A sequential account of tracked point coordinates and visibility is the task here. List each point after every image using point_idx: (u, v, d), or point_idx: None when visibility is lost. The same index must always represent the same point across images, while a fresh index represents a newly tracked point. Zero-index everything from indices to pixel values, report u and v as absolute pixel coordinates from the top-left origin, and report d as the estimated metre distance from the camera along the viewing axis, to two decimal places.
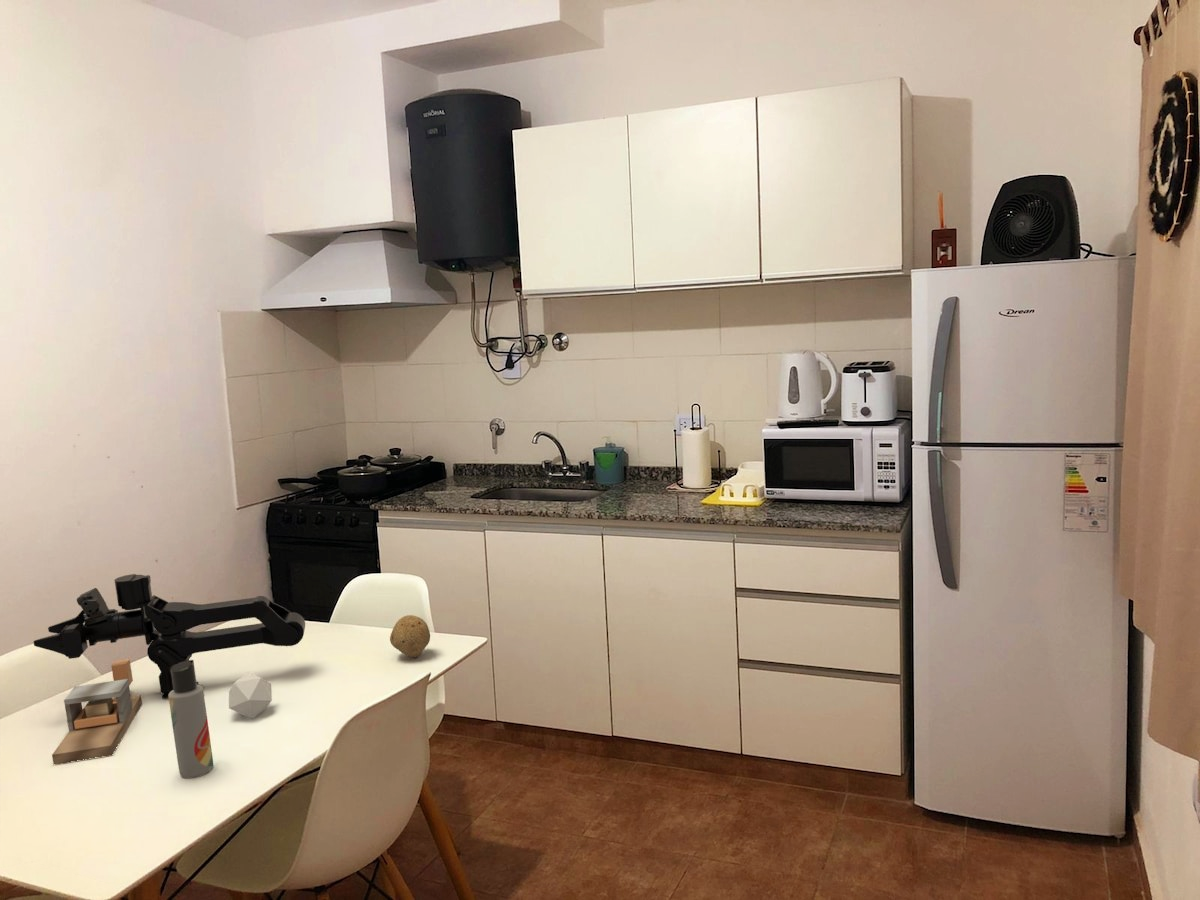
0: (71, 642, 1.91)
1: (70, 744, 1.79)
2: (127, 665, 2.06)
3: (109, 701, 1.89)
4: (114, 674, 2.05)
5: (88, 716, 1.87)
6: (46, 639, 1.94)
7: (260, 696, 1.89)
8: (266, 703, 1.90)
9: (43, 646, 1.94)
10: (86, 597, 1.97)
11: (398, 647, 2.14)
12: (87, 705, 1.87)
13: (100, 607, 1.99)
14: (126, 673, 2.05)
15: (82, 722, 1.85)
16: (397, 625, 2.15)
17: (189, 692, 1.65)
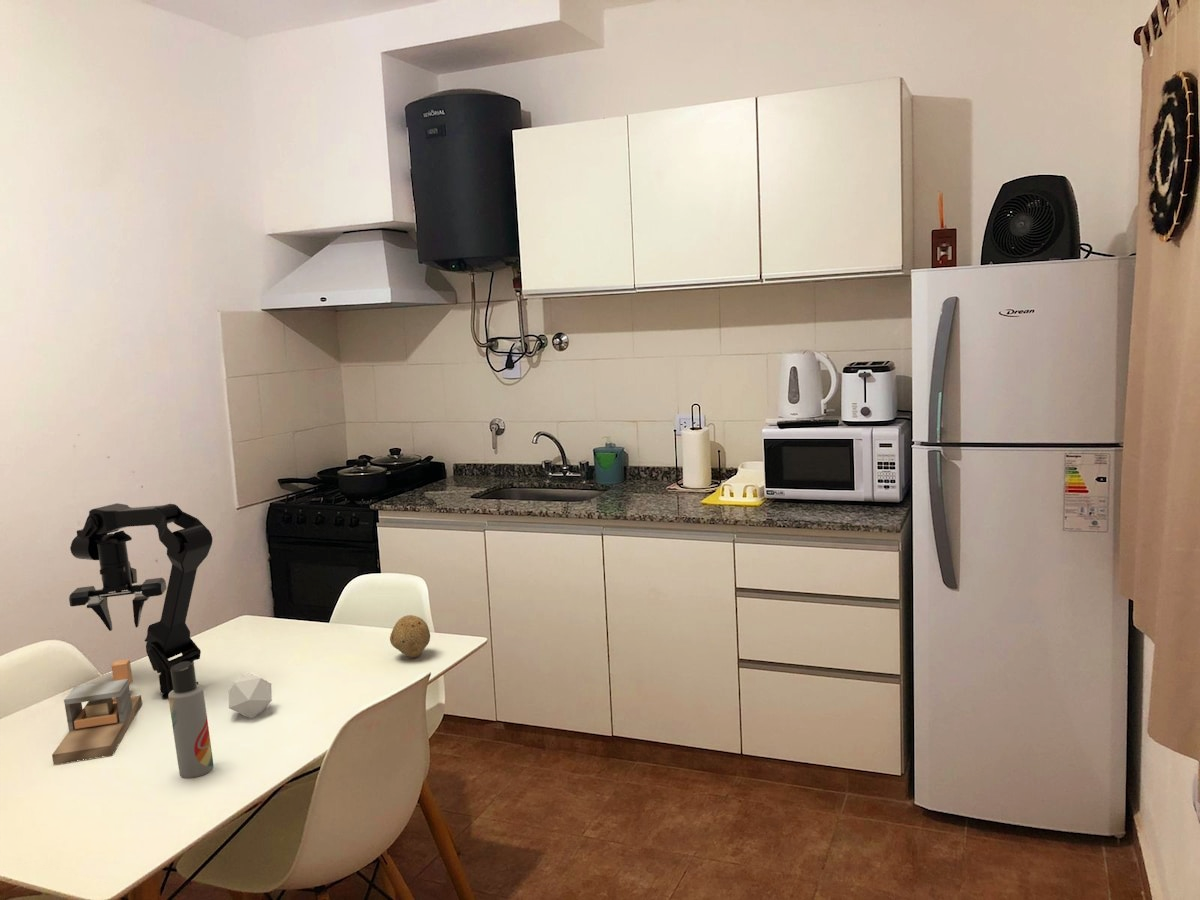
0: None
1: (70, 744, 1.79)
2: (127, 665, 2.06)
3: (109, 701, 1.89)
4: (114, 674, 2.05)
5: (88, 716, 1.87)
6: None
7: (260, 696, 1.89)
8: (266, 703, 1.90)
9: None
10: None
11: (398, 647, 2.14)
12: (87, 705, 1.87)
13: None
14: (126, 673, 2.05)
15: (82, 722, 1.85)
16: (397, 625, 2.15)
17: (189, 692, 1.65)
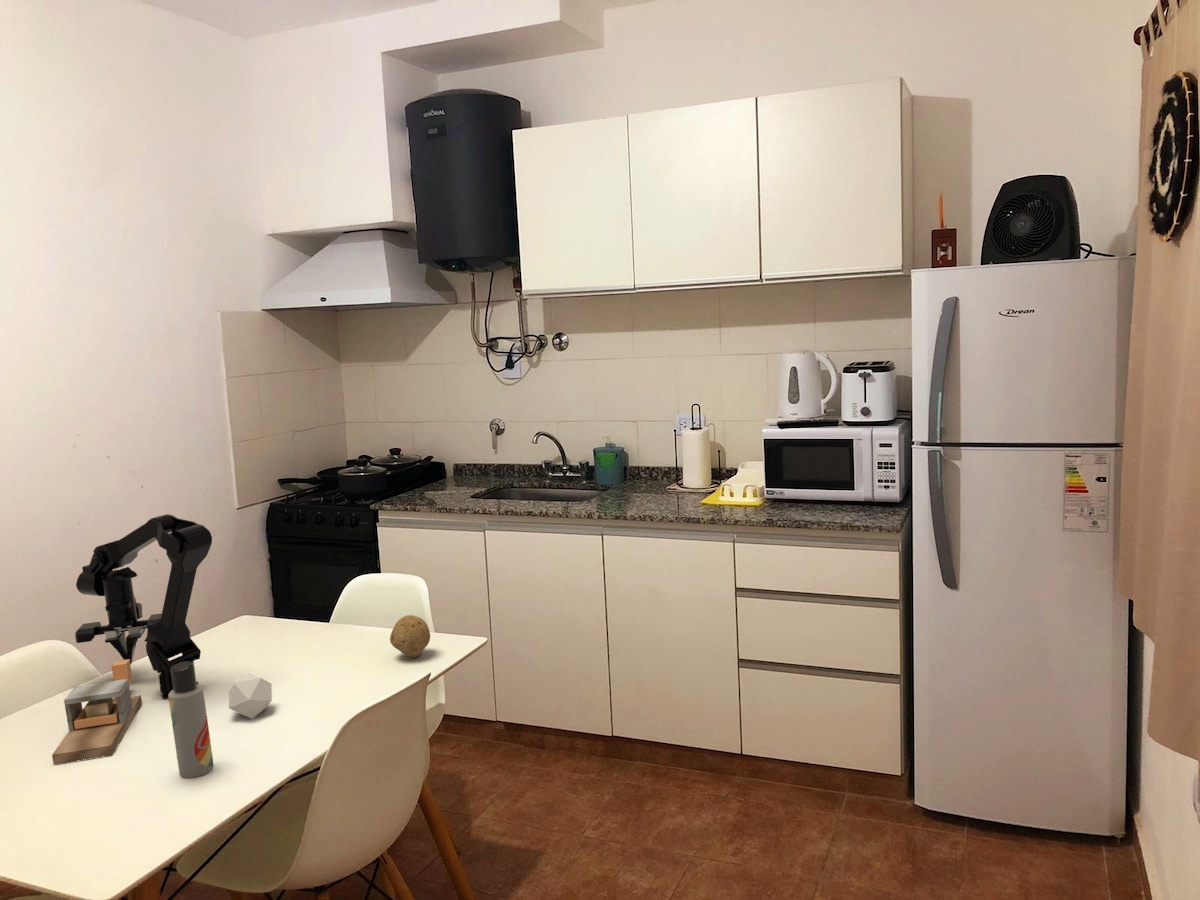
0: None
1: (70, 744, 1.79)
2: (127, 665, 2.06)
3: (109, 701, 1.89)
4: (114, 674, 2.05)
5: (88, 716, 1.87)
6: None
7: (260, 696, 1.89)
8: (266, 703, 1.90)
9: None
10: None
11: (398, 647, 2.14)
12: (87, 705, 1.87)
13: None
14: (126, 673, 2.05)
15: (82, 722, 1.85)
16: (397, 625, 2.15)
17: (189, 692, 1.65)
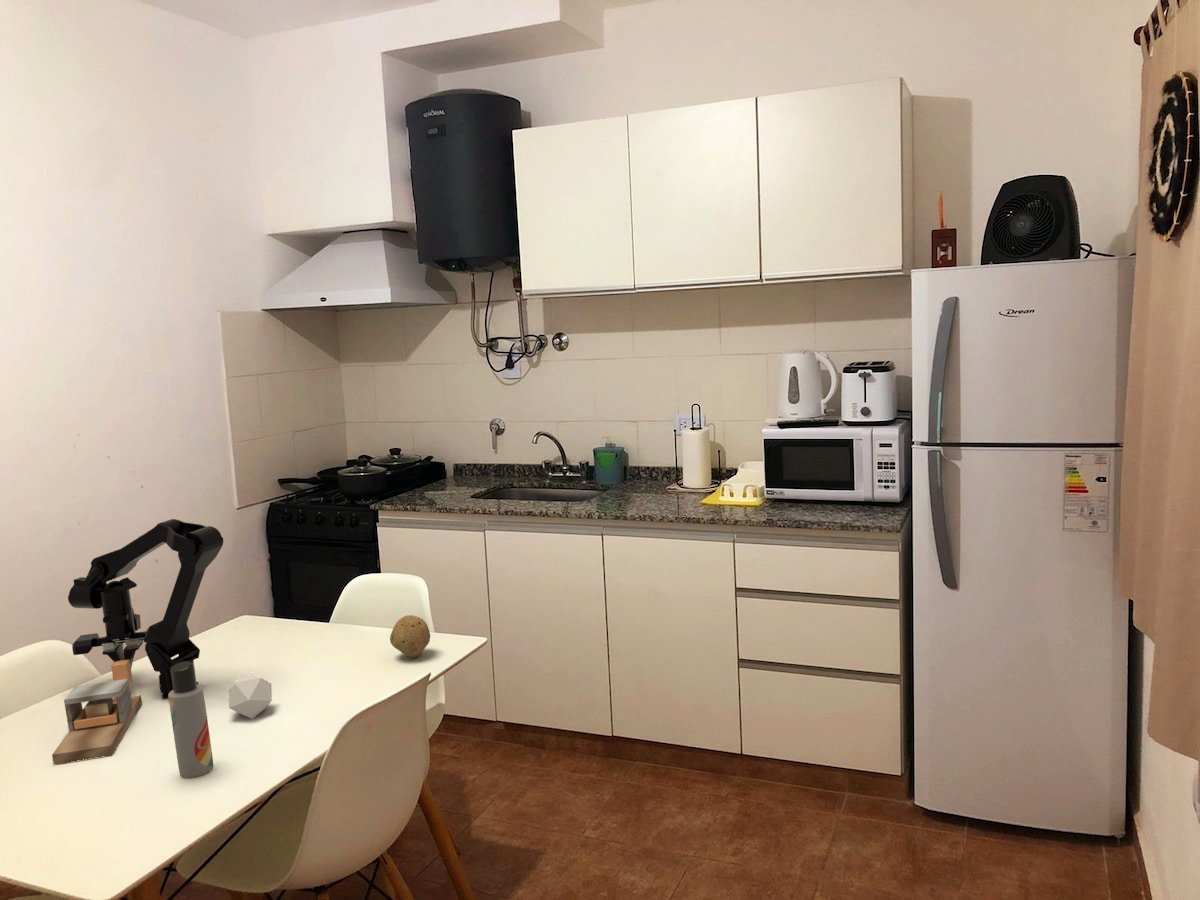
0: None
1: (70, 744, 1.79)
2: (127, 665, 2.06)
3: (109, 701, 1.89)
4: (114, 674, 2.05)
5: (88, 716, 1.87)
6: None
7: (260, 696, 1.89)
8: (266, 703, 1.90)
9: None
10: None
11: (398, 647, 2.14)
12: (87, 705, 1.87)
13: None
14: (125, 673, 2.05)
15: (82, 722, 1.85)
16: (397, 625, 2.15)
17: (189, 692, 1.65)
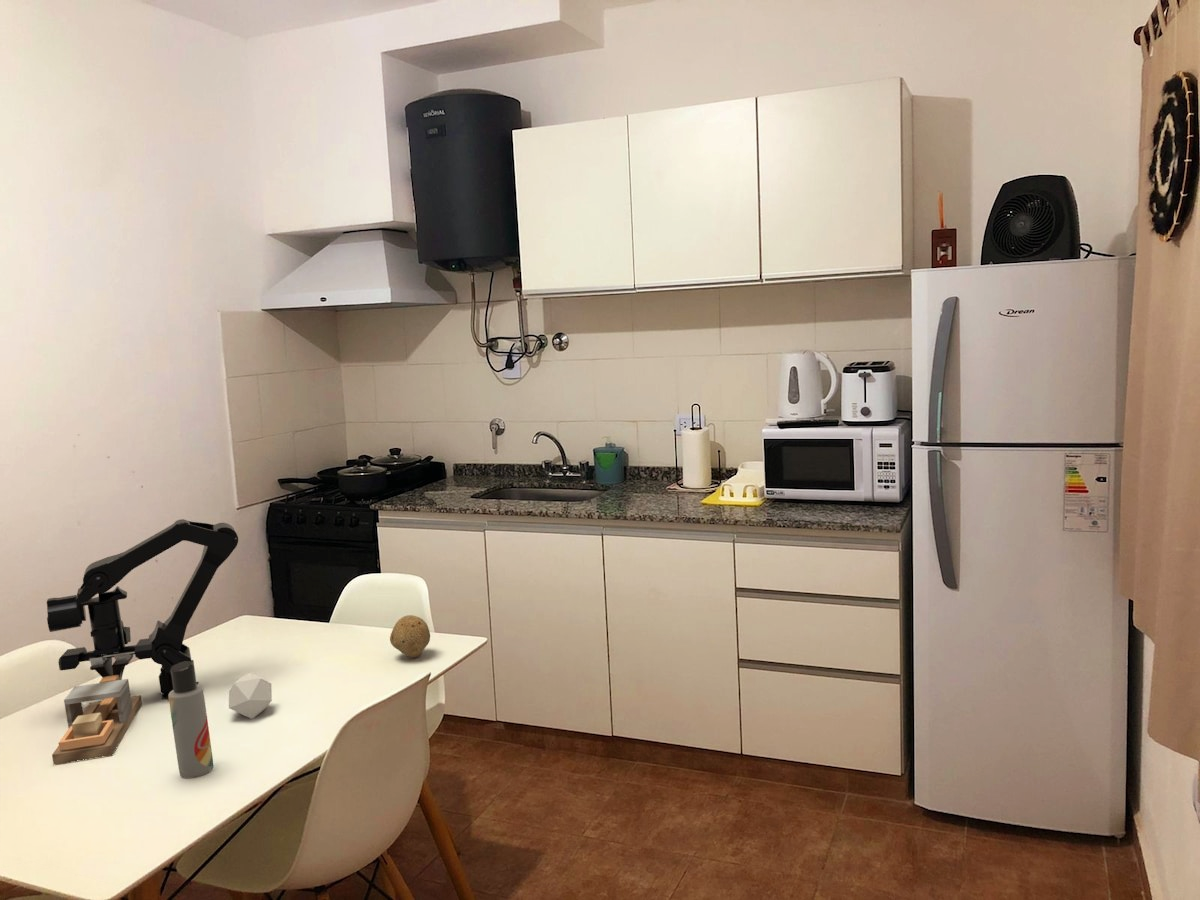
0: None
1: None
2: None
3: (97, 718, 1.81)
4: None
5: (75, 734, 1.78)
6: None
7: (260, 696, 1.89)
8: (266, 703, 1.90)
9: None
10: None
11: (398, 647, 2.14)
12: (74, 723, 1.78)
13: None
14: None
15: (67, 743, 1.75)
16: (397, 625, 2.15)
17: (189, 692, 1.65)
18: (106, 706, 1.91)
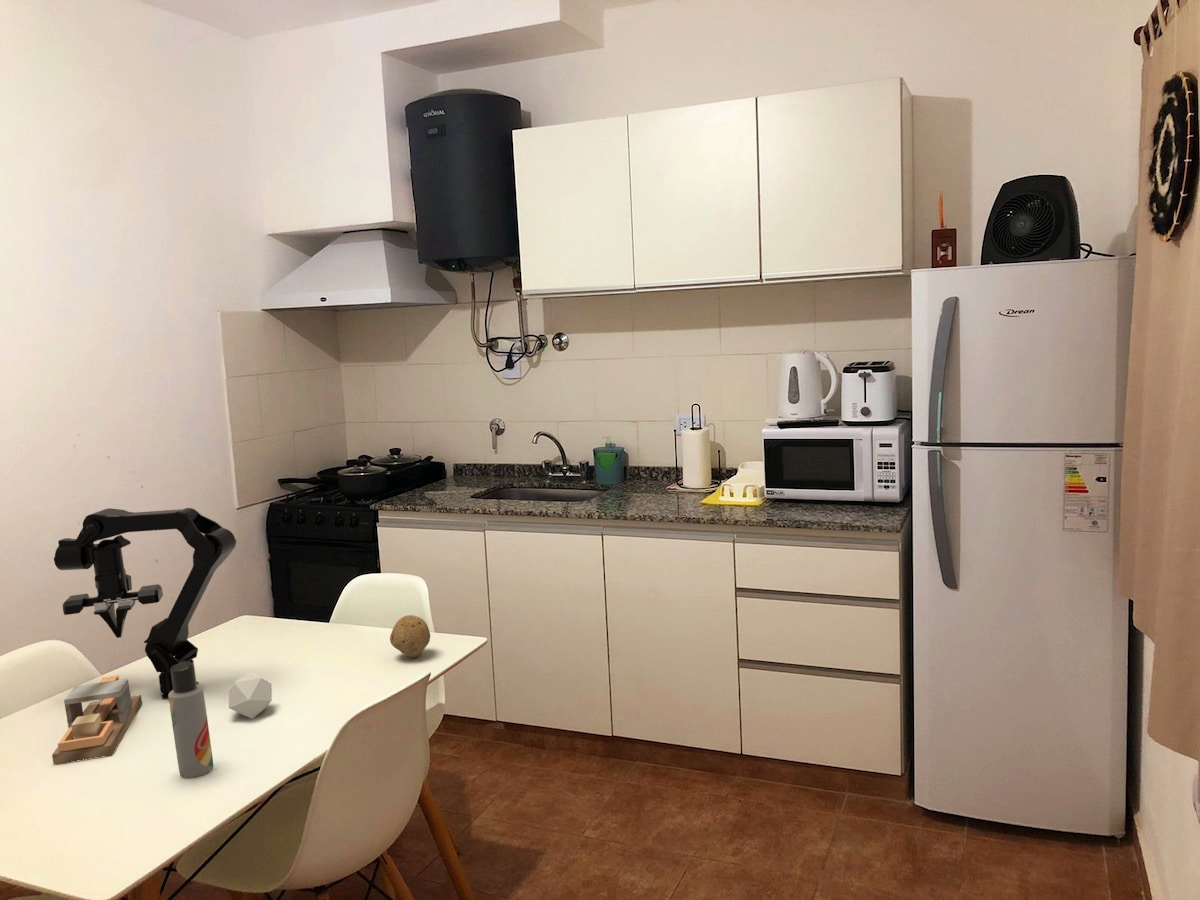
0: None
1: None
2: None
3: (97, 719, 1.80)
4: None
5: (74, 735, 1.78)
6: None
7: (260, 696, 1.89)
8: (266, 703, 1.90)
9: None
10: None
11: (398, 647, 2.14)
12: (73, 724, 1.78)
13: None
14: None
15: (66, 744, 1.75)
16: (397, 625, 2.15)
17: (189, 692, 1.65)
18: (105, 707, 1.91)
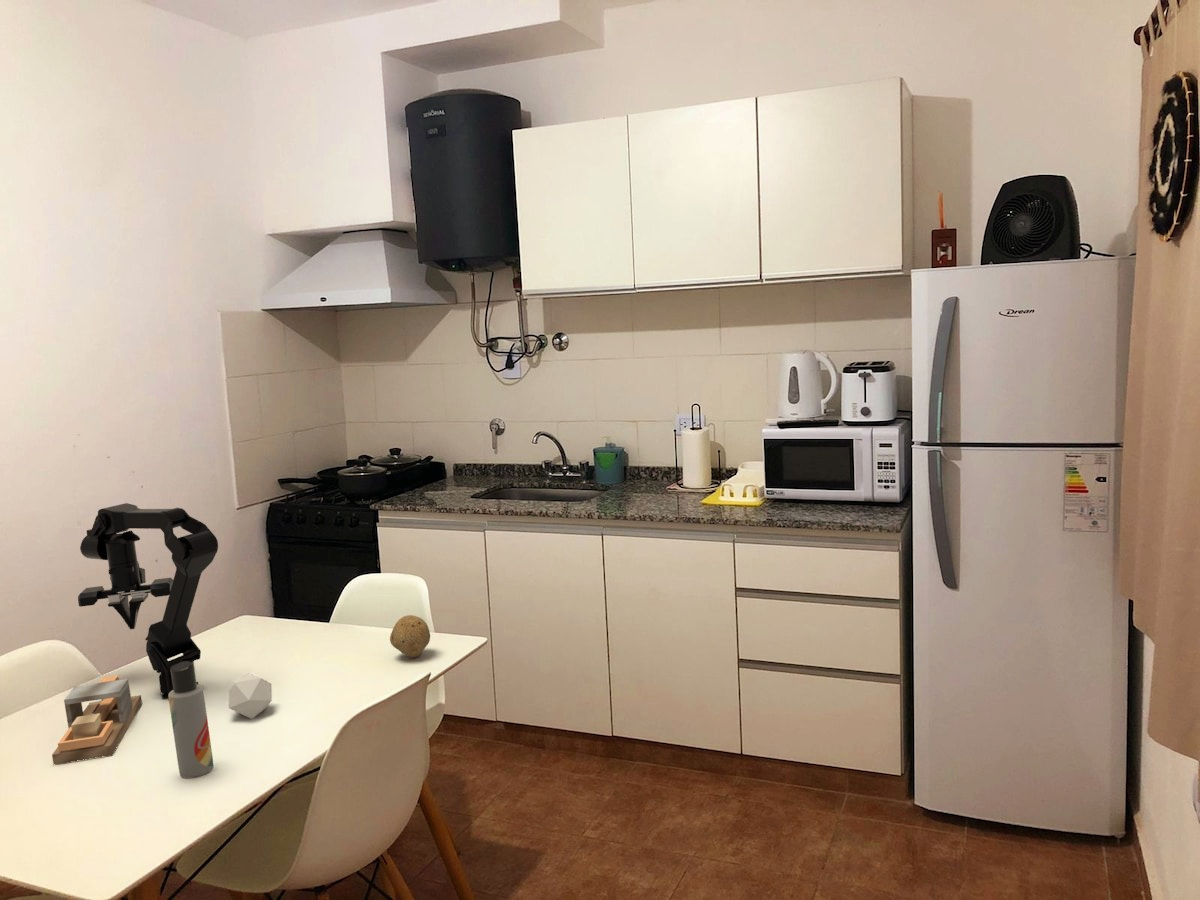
0: None
1: None
2: None
3: (97, 719, 1.80)
4: None
5: (74, 735, 1.78)
6: None
7: (260, 696, 1.89)
8: (266, 703, 1.90)
9: None
10: None
11: (398, 647, 2.14)
12: (73, 724, 1.78)
13: None
14: None
15: (66, 744, 1.75)
16: (397, 625, 2.15)
17: (189, 692, 1.65)
18: (105, 707, 1.91)
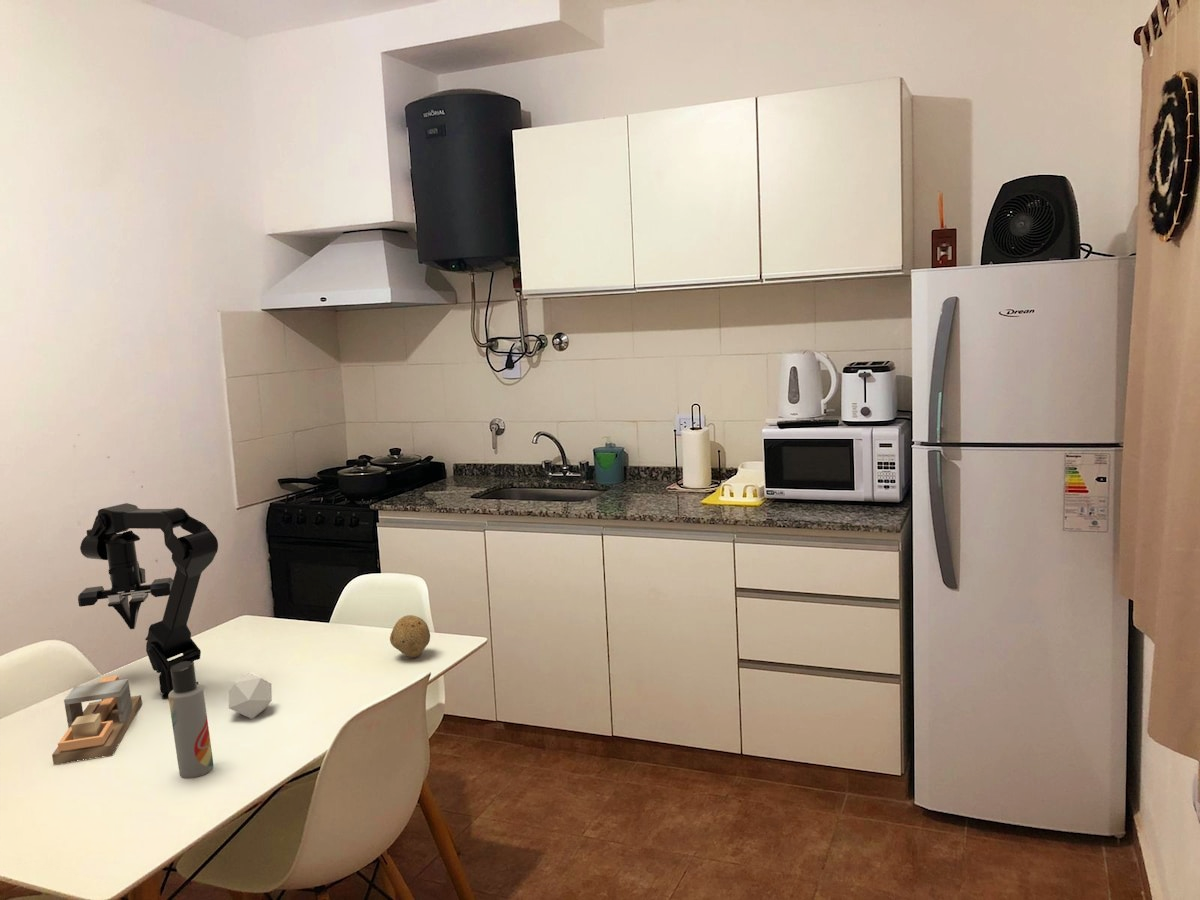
0: None
1: None
2: None
3: (97, 719, 1.80)
4: None
5: (74, 735, 1.78)
6: None
7: (260, 696, 1.89)
8: (266, 703, 1.90)
9: None
10: None
11: (398, 647, 2.14)
12: (73, 724, 1.78)
13: None
14: None
15: (66, 744, 1.75)
16: (397, 625, 2.15)
17: (189, 692, 1.65)
18: (105, 707, 1.91)
